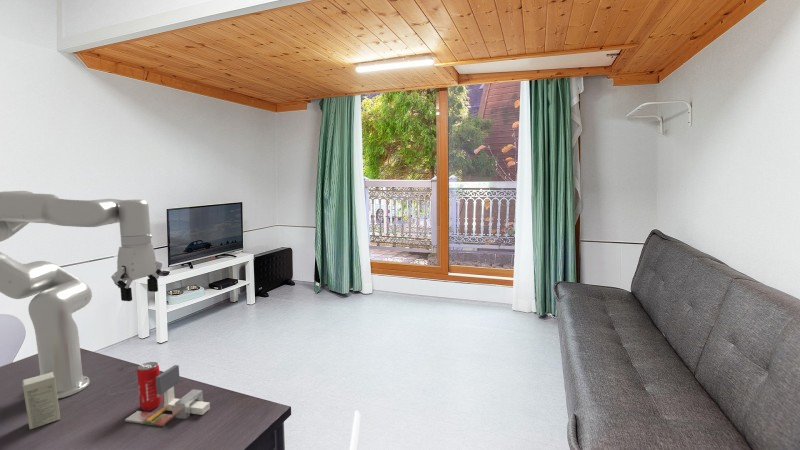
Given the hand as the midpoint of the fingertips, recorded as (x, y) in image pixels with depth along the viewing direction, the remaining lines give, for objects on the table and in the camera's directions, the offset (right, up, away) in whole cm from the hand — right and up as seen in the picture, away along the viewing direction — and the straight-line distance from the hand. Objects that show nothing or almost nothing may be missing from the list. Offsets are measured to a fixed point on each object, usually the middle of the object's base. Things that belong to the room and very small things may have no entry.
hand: (140, 295), depth 120 cm
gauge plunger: (+20, -30, -13) cm, 38 cm away
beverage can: (+9, -30, -9) cm, 32 cm away
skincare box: (-15, -31, -16) cm, 38 cm away
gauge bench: (+15, -30, -12) cm, 36 cm away
